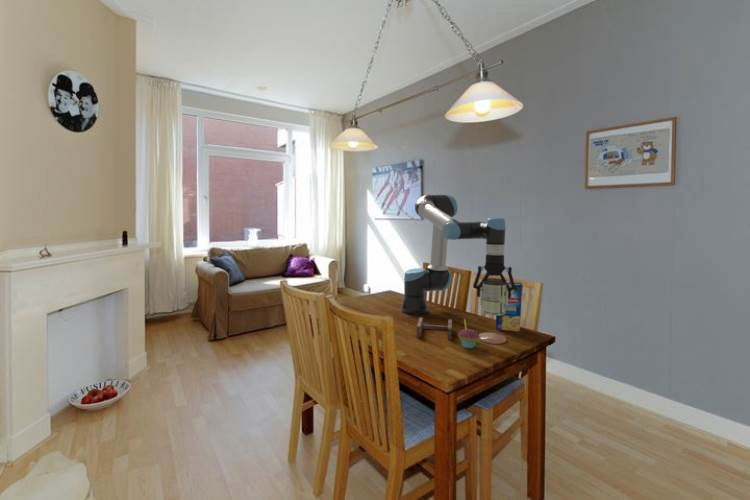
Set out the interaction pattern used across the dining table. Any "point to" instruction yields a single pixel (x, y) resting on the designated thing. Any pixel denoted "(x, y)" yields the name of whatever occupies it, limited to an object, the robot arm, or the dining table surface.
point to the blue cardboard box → (511, 311)
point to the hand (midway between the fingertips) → (493, 304)
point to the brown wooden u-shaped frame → (434, 327)
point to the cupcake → (468, 337)
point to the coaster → (492, 338)
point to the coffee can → (493, 296)
